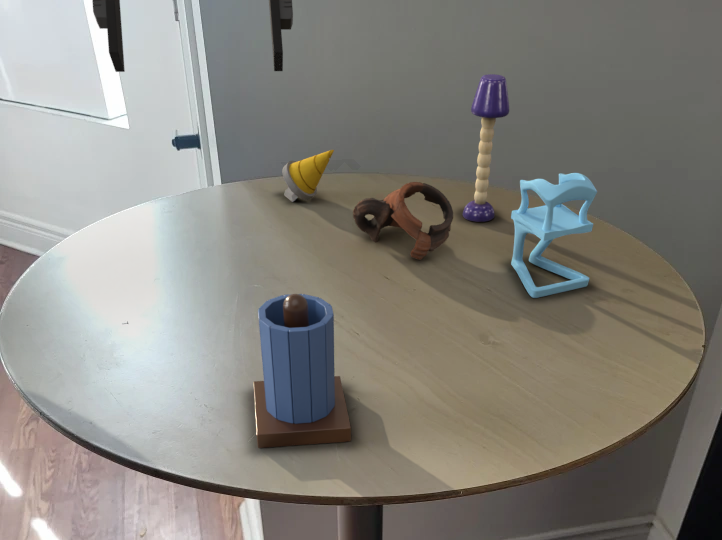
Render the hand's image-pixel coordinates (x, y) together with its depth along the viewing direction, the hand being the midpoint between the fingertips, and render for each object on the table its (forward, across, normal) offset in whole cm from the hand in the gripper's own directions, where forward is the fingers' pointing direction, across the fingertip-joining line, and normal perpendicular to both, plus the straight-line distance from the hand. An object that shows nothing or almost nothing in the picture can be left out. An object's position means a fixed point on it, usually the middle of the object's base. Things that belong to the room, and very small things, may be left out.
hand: (198, 62), depth 66 cm
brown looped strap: (+7, -21, -28) cm, 35 cm away
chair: (+13, -36, -20) cm, 44 cm away
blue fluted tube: (+29, -6, -2) cm, 30 cm away
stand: (+30, -7, -3) cm, 31 cm away
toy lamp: (+1, -33, -33) cm, 47 cm away
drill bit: (-5, -11, -39) cm, 41 cm away
